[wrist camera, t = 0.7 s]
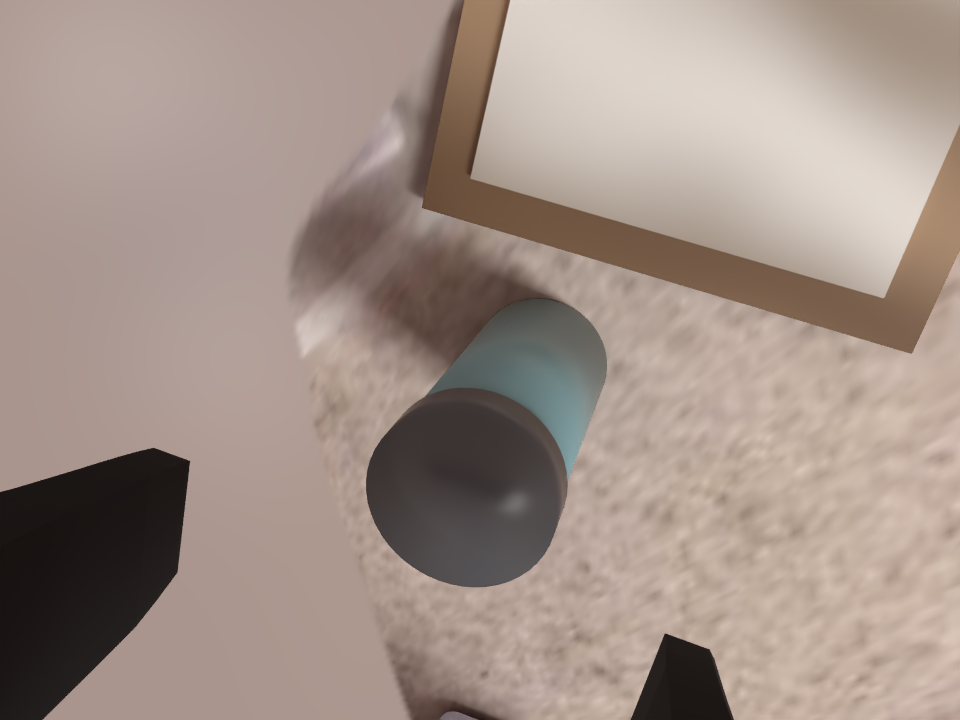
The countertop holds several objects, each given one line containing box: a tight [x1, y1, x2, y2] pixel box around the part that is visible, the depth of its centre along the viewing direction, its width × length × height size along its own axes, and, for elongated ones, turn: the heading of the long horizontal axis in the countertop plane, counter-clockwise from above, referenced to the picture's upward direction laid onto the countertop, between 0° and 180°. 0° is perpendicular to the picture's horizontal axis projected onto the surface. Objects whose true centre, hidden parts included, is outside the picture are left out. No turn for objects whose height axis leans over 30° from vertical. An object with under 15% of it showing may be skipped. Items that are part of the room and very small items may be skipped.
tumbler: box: [366, 298, 607, 587], centre depth 19 cm, size 3×3×7 cm
